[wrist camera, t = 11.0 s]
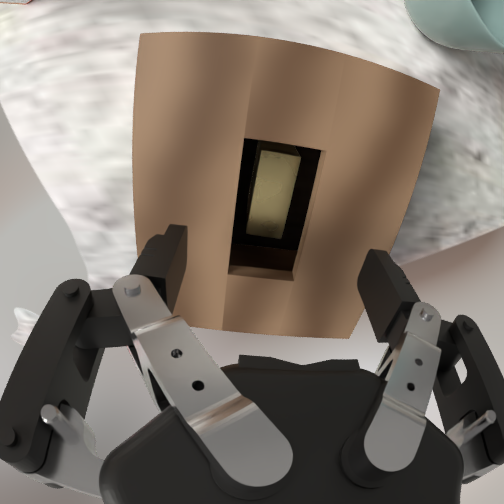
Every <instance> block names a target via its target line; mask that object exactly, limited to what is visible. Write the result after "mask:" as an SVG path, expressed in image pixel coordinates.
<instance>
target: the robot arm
mask: <svg viewBox="0 0 504 504" xmlns="http://www.w3.org/2000/svg"><path fill="white" fill-rule="evenodd" d="M187 243H188V227H187V226H186V225H177V224H169V226H168V228H167V230H166V232H165V234H164V235H161V234H156V235H154V236H153V237H152V238H150V239H149V240H148V241H147V243H146V245H145V247H144V249H143V250H142V252H141V255H140V256H139V257H138V259H137V261H136V263H135V265H134V267H133V269H132V271H131V272H130V274H129V275H127V276H124V277H122V278H120V279H118V280H117V281H116V282H115V283H114V285H113V288H110V289H103V290H91V289H90V286H89V284H88V283H87V282H86V281H84V280H82V279H70V280H67V281H65V282H63V283H61V284H60V285H59V286H58V287H57V288H56V290H55V291H54V293H53V295H52V296H51V298H50V300H49V301H48V303H47V305H46V306H45V308H44V310H43V312H42V314H41V316H40V317H39V319H38V321H37V323H36V324H35V326H34V328H33V330H32V332H31V334H30V336H29V338H28V340H27V342H26V344H25V346H24V348H23V350H22V352H21V354H20V356H19V358H18V360H17V363H16V365H15V367H14V370H13V371H12V374H11V376H10V378H9V381H8V383H7V386H6V388H5V390H4V393H3V395H2V398H1V401H0V458H1V459H2V460H4V461H5V462H7V463H8V464H10V465H11V466H13V467H14V468H15V469H16V470H18V471H19V472H21V473H23V474H24V475H26V476H28V477H30V478H32V479H34V480H35V481H38V482H40V483H44V484H45V485H47V486H50V487H52V488H63V487H66V488H68V489H72V490H74V491H77V492H80V493H83V494H86V495H90V496H93V497H96V498H100V499H102V500H103V502H104V504H460V492H461V485H462V484H468V483H469V482H472V481H474V480H476V479H477V478H479V477H481V476H483V475H485V474H487V473H488V472H490V471H492V470H494V469H495V468H497V467H498V466H500V465H502V464H503V463H504V378H503V376H502V373H501V371H500V369H499V367H498V365H497V363H496V361H495V359H494V356H493V354H492V352H491V350H490V348H489V346H488V344H487V343H486V341H485V339H484V337H483V335H482V333H481V331H480V329H479V327H478V326H477V324H476V323H475V322H474V321H473V320H472V319H471V318H469V317H467V316H465V315H458V316H457V317H456V318H455V320H454V321H453V323H451V322H448V321H444V320H441V316H440V314H439V312H438V311H437V310H436V309H435V308H434V307H433V306H431V305H430V304H428V303H425V302H421V301H420V299H419V297H418V296H417V294H416V292H415V291H414V289H413V287H412V285H411V284H410V282H409V280H408V279H407V278H406V275H405V274H404V272H403V270H402V269H401V268H400V267H399V266H398V265H397V264H395V263H394V262H393V261H392V259H391V257H390V256H389V254H388V253H387V251H385V250H378V249H370V250H369V251H368V253H367V255H366V258H365V260H364V263H363V265H362V268H361V270H360V273H359V275H358V279H357V289H358V291H359V294H360V296H361V299H362V301H363V304H364V307H365V309H366V312H367V314H368V317H369V320H370V322H371V325H372V328H373V331H374V333H375V336H376V339H377V342H379V343H383V342H385V343H386V342H388V343H389V346H388V347H387V349H386V350H385V353H384V355H383V357H382V359H381V361H380V363H379V366H378V368H377V370H376V372H375V374H374V373H372V372H370V371H367V370H364V369H360V367H359V363H358V360H357V359H352V360H337V359H336V360H334V359H331V360H326V361H322V362H317V363H312V364H307V365H299V364H295V363H290V362H287V361H283V360H279V359H276V358H272V357H262V356H249V355H239V359H238V364H232V365H228V366H224V367H221V368H219V366H218V365H217V364H216V363H215V361H214V360H213V359H212V357H211V356H210V355H209V354H208V352H207V351H206V349H205V348H204V347H203V345H202V344H201V343H200V341H199V340H198V338H197V337H196V336H195V334H194V333H193V332H192V330H191V329H190V327H189V326H188V325H187V323H186V322H185V320H184V319H183V318H182V317H181V316H179V315H177V316H175V317H173V311H174V308H175V304H176V301H177V297H178V294H179V291H180V287H181V284H182V281H183V277H184V274H185V271H186V265H187ZM120 346H127V348H128V350H129V352H130V354H131V357H132V359H133V361H134V363H135V365H136V367H137V369H138V371H139V373H140V374H141V376H142V378H143V380H144V382H145V384H146V387H147V389H148V391H149V394H150V396H151V398H152V400H153V402H154V404H155V405H156V407H157V409H158V411H159V412H160V414H158V415H157V416H156V417H155V418H153V419H152V420H151V421H150V422H148V423H147V424H146V425H145V426H143V427H142V428H141V429H140V430H138V431H137V432H136V433H135V434H133V435H132V436H131V437H129V438H128V439H127V440H125V441H124V442H123V443H121V444H120V445H119V446H118V447H116V448H115V449H114V450H113V451H111V452H110V454H109V455H108V456H107V457H106V459H105V460H102V459H100V458H99V457H98V455H97V453H96V446H95V445H96V439H95V435H94V432H93V430H92V429H91V428H90V426H89V425H88V424H87V423H86V422H85V421H84V419H85V415H86V411H87V407H88V403H89V400H90V396H91V393H92V389H93V386H94V382H95V379H96V376H97V372H98V369H99V366H100V362H101V359H102V356H103V353H104V350H105V348H107V347H120ZM461 357H462V359H463V362H464V364H465V366H466V369H467V377H466V379H465V381H464V382H463V383H462V384H461V382H460V379H459V376H458V374H457V372H456V369H455V365H456V363H457V362H458V361H459V360H460V359H461ZM432 389H433V392H434V395H435V399H436V401H437V405H438V408H439V412H440V416H441V419H442V423H443V426H444V430H445V434H446V435H445V434H444V433H443V432H442V431H441V430H440V429H439V428H437V427H436V426H435V425H434V424H433V423H432V422H431V421H430V420H429V419H427V418H426V417H425V412H426V409H427V406H428V403H429V399H430V395H431V392H432Z"/></svg>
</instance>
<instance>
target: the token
mask: <svg viewBox="0 0 504 504" xmlns="http://www.w3.org/2000/svg"><path fill="white" fill-rule="evenodd" d="M300 160H301V156H300V155H299V153H298V151H297V150H296V148H295V146H294V145H291V144H285V143H279V142H272V141H265V140H258V144H257V150H256V155H255V161H254V166H253V172H252V177H251V183H250V188H249V194H248V199H247V221H246V234H252V235H259V236H265V237H272V238H279V239H281V238H282V234H283V230H284V226H285V222H286V218H287V214H288V210H289V206H290V202H291V198H292V193H293V189H294V185H295V181H296V177H297V173H298V169H299V164H300Z"/></svg>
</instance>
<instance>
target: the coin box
mask: <svg viewBox="0 0 504 504" xmlns="http://www.w3.org/2000/svg"><path fill="white" fill-rule="evenodd" d="M439 92H440V89H437V88H435V87H433V86H431V85H429V84H427V83H424V82H422V81H420V80H418V79H415V78H413V77H410V76H408V75H405V74H403V73H400V72H398V71H395V70H393V69H390V68H387V67H384V66H382V65H379V64H376V63H373V62H370V61H367V60H363V59H360V58H357V57H354V56H350V55H347V54H343V53H339V52H336V51H332V50H328V49H324V48H320V47H315V46H311V45H306V44H301V43H296V42H290V41H285V40H279V39H272V38H265V37H258V36H249V35H239V34H227V33H210V32H160V33H143V34H140V40H139V48H138V56H137V66H136V77H135V90H134V108H133V139H132V168H133V201H134V219H135V233H136V245H137V255H138V257H139V256H140V255H141V252H142V250H143V249H144V247H145V245H146V243H147V241H148V240H149V239H150V238H152V237H153V236H154V235H156V234H161V235H164V234H165V232H166V230H167V228H168V226H169V224H177V225H186V226H187V227H188V243H187V265H186V271H185V274H184V277H183V281H182V284H181V287H180V291H179V294H178V297H177V301H176V304H175V308H174V311H173V317H175V316H177V315H179V316H181V317H182V318H183V319H184V320H185V322H186V323H187V325H188V326H190V327H199V328H206V329H215V330H223V331H234V332H244V333H254V334H266V335H280V336H295V337H296V336H297V337H314V338H342V339H344V338H345V339H349V338H350V336H351V334H352V332H353V330H354V328H355V326H356V324H357V322H358V320H359V318H360V316H361V315H362V313H363V310H364V309H365V307H364V304H363V301H362V299H361V296H360V294H359V291H358V289H357V279H358V275H359V273H360V270H361V268H362V265H363V263H364V260H365V258H366V255H367V253H368V251H369V250H370V249H378V250H385V251H387V253H388V254H390V251H391V249H392V246H393V244H394V242H395V239H396V237H397V234H398V231H399V229H400V226H401V224H402V221H403V218H404V216H405V213H406V210H407V207H408V204H409V202H410V199H411V196H412V193H413V190H414V187H415V184H416V181H417V178H418V174H419V171H420V168H421V165H422V161H423V158H424V154H425V151H426V147H427V143H428V140H429V136H430V132H431V128H432V124H433V120H434V116H435V111H436V107H437V102H438V97H439ZM244 138H250V139H258V140H265V141H272V142H279V143H285V144H291V145H297V146H303V147H308V148H314V149H319V150H321V154H320V159H319V164H318V168H317V173H316V177H315V181H314V186H313V190H312V194H311V199H310V203H309V207H308V211H307V215H306V220H305V224H304V228H303V232H302V236H301V240H300V244H299V248H298V251H296V250H287V249H279V248H270V247H261V246H253V245H244V244H235V243H231V239H232V231H233V222H234V214H235V205H236V197H237V189H238V181H239V173H240V165H241V157H242V150H243V142H244Z"/></svg>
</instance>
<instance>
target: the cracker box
mask: <svg viewBox="0 0 504 504" xmlns="http://www.w3.org/2000/svg"><path fill="white" fill-rule="evenodd" d="M30 1H31V0H0V3H9V4H24V5H25V4H27V3H28V2H30Z"/></svg>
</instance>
